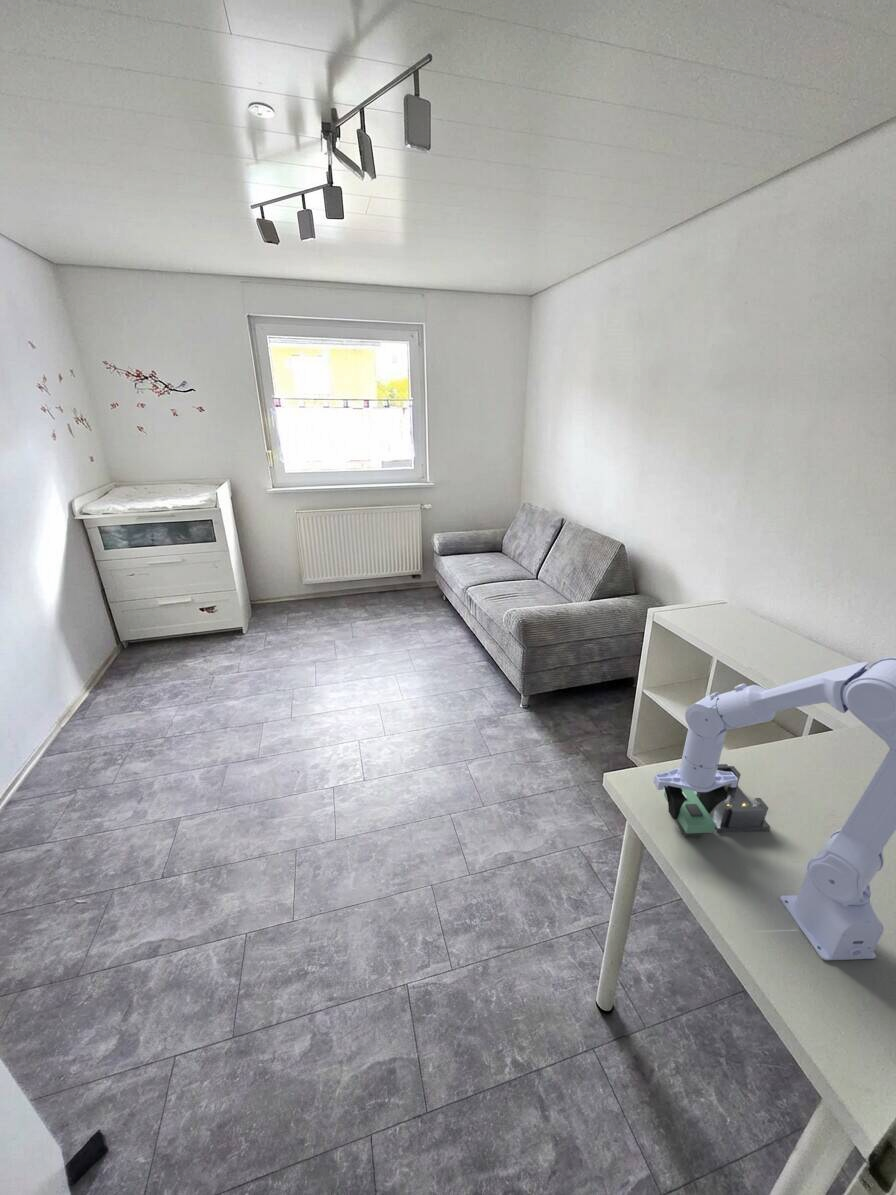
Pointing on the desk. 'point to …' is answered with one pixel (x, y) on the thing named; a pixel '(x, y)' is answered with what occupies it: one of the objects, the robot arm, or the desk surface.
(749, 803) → the chassis
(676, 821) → the dark grey rectangular block
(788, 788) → the desk surface
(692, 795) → the board
